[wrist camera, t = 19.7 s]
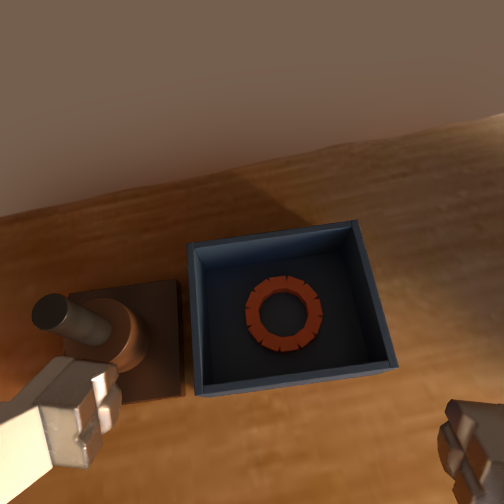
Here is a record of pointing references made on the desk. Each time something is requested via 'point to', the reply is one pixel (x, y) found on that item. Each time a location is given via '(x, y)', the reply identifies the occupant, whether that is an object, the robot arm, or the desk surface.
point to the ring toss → (124, 334)
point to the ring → (294, 288)
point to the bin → (285, 310)
